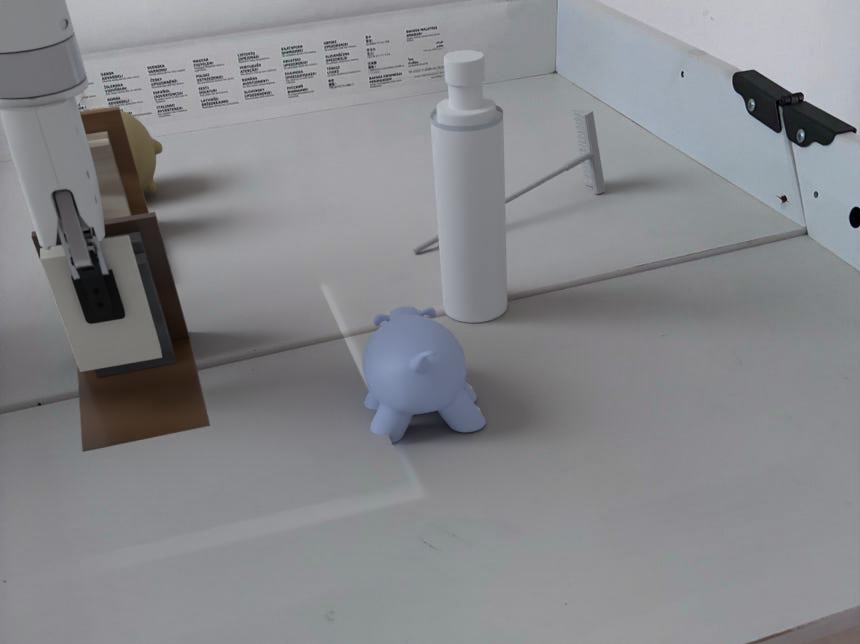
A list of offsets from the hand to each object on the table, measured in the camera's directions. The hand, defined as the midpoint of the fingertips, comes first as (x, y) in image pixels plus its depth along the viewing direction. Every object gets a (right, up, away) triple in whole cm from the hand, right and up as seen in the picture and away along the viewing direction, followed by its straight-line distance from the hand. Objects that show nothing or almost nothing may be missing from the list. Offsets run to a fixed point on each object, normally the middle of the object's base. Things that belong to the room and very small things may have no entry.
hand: (105, 310), depth 82 cm
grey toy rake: (+36, +23, +35) cm, 55 cm away
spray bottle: (+31, +7, +20) cm, 38 cm away
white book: (0, -3, +3) cm, 5 cm away
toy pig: (-15, +30, +44) cm, 55 cm away
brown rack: (0, -5, +10) cm, 11 cm away
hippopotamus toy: (+26, -7, +7) cm, 28 cm away
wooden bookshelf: (-12, +17, +31) cm, 37 cm away
